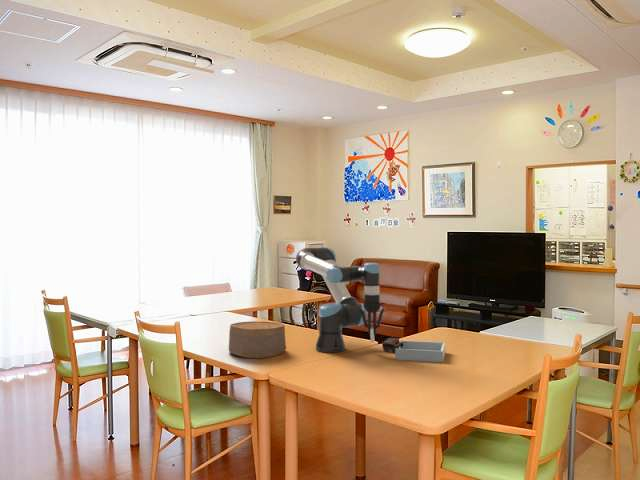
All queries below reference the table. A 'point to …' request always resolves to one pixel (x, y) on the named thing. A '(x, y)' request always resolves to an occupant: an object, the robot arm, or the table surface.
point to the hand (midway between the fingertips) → (372, 341)
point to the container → (257, 339)
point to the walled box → (421, 351)
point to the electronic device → (391, 344)
